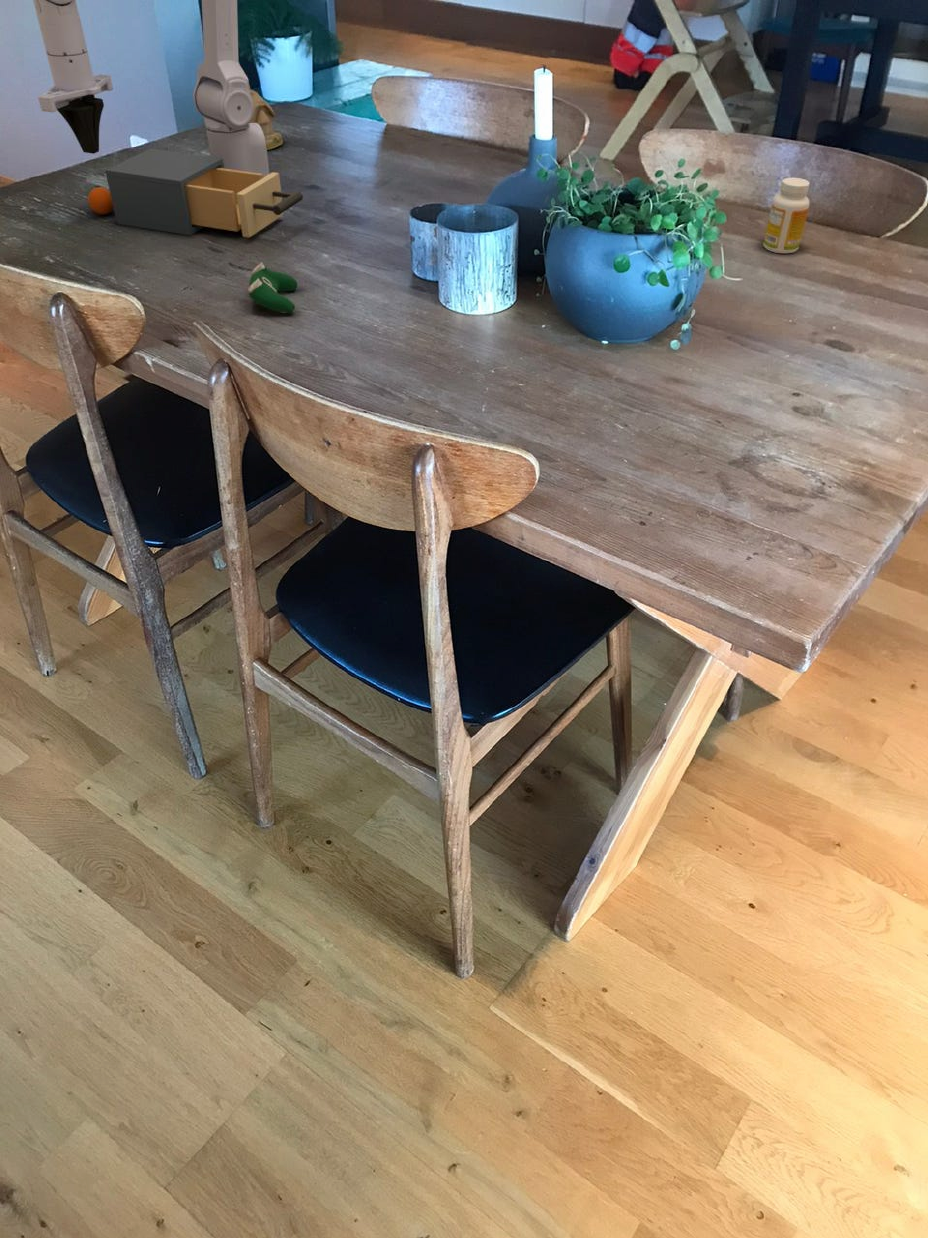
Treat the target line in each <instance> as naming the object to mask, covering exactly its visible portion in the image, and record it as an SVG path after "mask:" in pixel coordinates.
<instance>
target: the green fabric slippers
mask: <svg viewBox="0 0 928 1238" xmlns="http://www.w3.org/2000/svg"><path fill="white" fill-rule="evenodd" d="M297 288H298V281H296V279H295V278H294V277H293V276H291V275H289V274H287V273H283V272H280V271H276V270H275V271H274V270H271V269H269V268H267V267H266V266H265V265H264V263H263V262H261V261H260V263H259V264H257V265H256V267H254V268H253V270H252V271H251V276H250V279H249V285H248V288H247V289H248V290H247V292H248V295H249V297H250V298H251V299H252V300H253V302H254V303H255V304H256V305H259V306H261V307H263V308H265V309H268V310H271V311H274V312H277V313H282V314H288V315H289V314H290V315H291V314H293V312H294V310H295V308H296V306H295V305H296V304H294V303H293V301H292V300H290V299H289V298H288V297H286V296H285V295H282V294H281V293H278V292H294V291H296V290H297Z"/></svg>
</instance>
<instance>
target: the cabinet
mask: <svg viewBox="0 0 928 1238" xmlns="http://www.w3.org/2000/svg"><path fill="white" fill-rule="evenodd" d="M216 167H217V168H224V164H223V158H217V157H210V155H209V156H208V155H203V154H196V153H195V154H194V153H186V152H182V151H181V152H180V151H172V150H165V149H158V148H149V149H146V150H144V151H143V152H140V153H138V154H136V155H134V156H132V157H129V158H127V159H126V160H123V161H121V162H119V163H117V164H115V165H113V166H111V167H108V168H106V169H105V170H104V173H105V175H106V176H105V177H106V180H107V185H108V191H109V192H110V194H111V198H112V202H113V206H114V209H113V211H114V214H115V215H114V216H115V218H116V223H117V224H118V225H123V226H129V227H136V228H141V229H142V228H143V229H148V230H154V231H159V232H161V231H162V232H167V233H173V234H180V235H186V236H192V235H194V234H195V233H197V232H199V231H201V230H202V229H203V228H205V226H198V225H192V224H191V219H190V214H189V209H188V203H187V198H186V192H185V187H184V185H185V184H186V183H188V182H190V181H192V180H194V179H196V178H197V177H199V176H201V175H203V174H205V173H207V172H208V171H210V170H212V169H214V168H216Z"/></svg>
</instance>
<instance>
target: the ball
mask: <svg viewBox="0 0 928 1238" xmlns="http://www.w3.org/2000/svg"><path fill="white" fill-rule="evenodd" d="M88 205H89V206H90V208H91V210H93V211H94V212H95V213H97V214H99V215H108V214H111V212H113V211H114V206H113V202H112V198H111V194H110V190H109V189H106V188H104V187H101V186H99V187H95V188H93V189H91V191H90V192H89V193H88Z"/></svg>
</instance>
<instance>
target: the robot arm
mask: <svg viewBox="0 0 928 1238" xmlns="http://www.w3.org/2000/svg"><path fill="white" fill-rule="evenodd" d="M32 1H33V5H34V8H35V12H36V17H37V22H38V26H39V29H40V34H41V37H42V41H43V45H44V48H45V53H46V56H47V60H48V64H49V68H50V72H51V76H52V79H53V84H54V86H53V87H51V88H50V89H48V90H47V91H46V92H45V93H43V94H41V95H38V96H37V99H38V102H39V107H40V110H41V112H44V113H45V112H47V113H55V112H58V113H59V114H60V115H61V116H62V118H63V119H64V120H65V122H66V123H67V124H68V126H69V127H70V129H71V130H72V132H73V134H74V136H75V138H76V140H77V142H78V144H79V146H80V148H81V150H82V152H83V153H86V154H93V155H95V154H96V153H99V152H100V127H101V126H100V125H101V117H102V113H103V110H104V107H105V104H104V100H103V99H102V98H99V97H95V96H96V95H98V94H101V93H103V92H105V91H107V92H110V91H113V90H114V86H113V82H112V78H111V77H112V76H111V75H106V74H97V75H94V74H93V69H92V66H91V65H92V64H91V61H90V57H89V52H88V48H87V42H86V39H85V34H84V31H83V26H82V21H81V17H80V14H79V13H80V12H79V9H78V6H77V5H78V4H77V0H32ZM201 13H202V14H201V15H202V37H203V60H202V61H201V63H199V66H198V67H197V70H196V74H197V75H196V76H197V77H196V84H195V86H194V88H193V94H192V95H193V96H192V98H193V99H192V100H193V105H194V107H195V109H196V111H197V112H198V113H199V114H200V115H201V116H202V117H203V122H204V126H205V132H206V137H207V143H208V151H209V156H210V157H217V158H223V164H224V169H231V170H238V171H246V172H253V173H260V174H263V178H264V177H265V176H267V175H269V174H271V172H270V165H269V158H268V157H269V156H268V150H267V149H266V142H265V137H264V134H263V131H262V129H261V127H260V125H259V124H258V123H250V121H251V120H252V117H253V114H254V103H253V99H252V97H251V95H250V91H249V86H250V82H249V78H248V76H247V74H246V72H245V71H244V69H243V68H242V66H241V64H240V62H239V26H238V23H239V22H238V21H239V20H238V0H201Z"/></svg>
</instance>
